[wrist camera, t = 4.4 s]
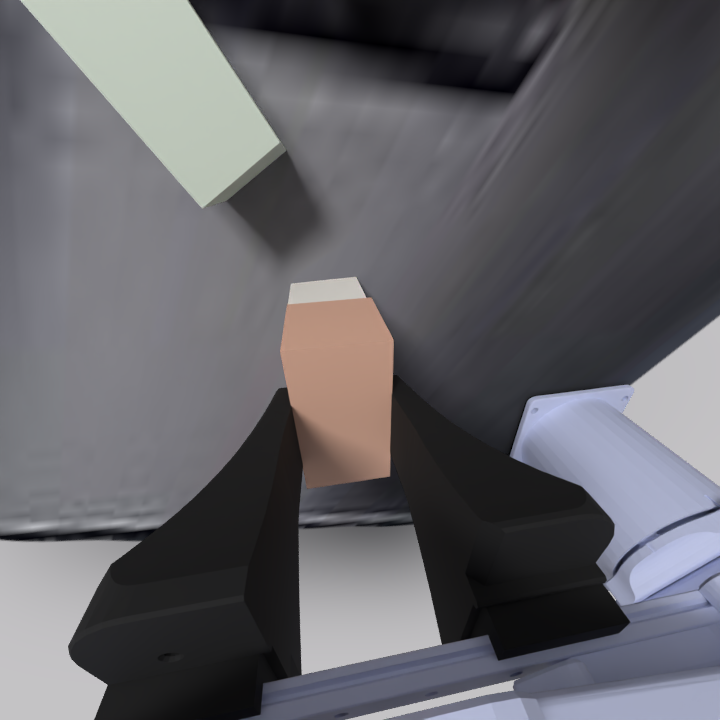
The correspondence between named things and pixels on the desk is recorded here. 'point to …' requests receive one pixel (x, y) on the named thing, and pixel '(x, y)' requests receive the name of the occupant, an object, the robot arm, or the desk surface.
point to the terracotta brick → (339, 389)
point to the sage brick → (168, 88)
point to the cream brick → (325, 290)
